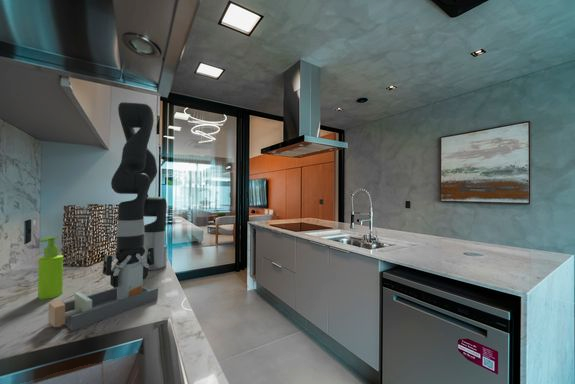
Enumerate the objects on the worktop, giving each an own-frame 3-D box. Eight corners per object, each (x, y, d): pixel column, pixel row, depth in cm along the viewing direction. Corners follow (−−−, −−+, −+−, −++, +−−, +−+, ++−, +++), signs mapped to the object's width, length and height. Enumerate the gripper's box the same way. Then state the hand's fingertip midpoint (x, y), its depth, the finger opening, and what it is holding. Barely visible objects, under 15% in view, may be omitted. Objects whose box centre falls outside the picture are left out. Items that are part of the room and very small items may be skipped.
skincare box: (127, 303, 74) (128, 265, 74) (116, 302, 75) (117, 264, 75) (143, 295, 80) (143, 260, 80) (132, 294, 81) (133, 259, 81)
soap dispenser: (30, 301, 76) (31, 239, 76) (47, 292, 83) (48, 235, 83) (51, 300, 77) (52, 238, 77) (66, 291, 84) (67, 235, 84)
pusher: (78, 308, 70) (79, 291, 70) (91, 318, 65) (92, 299, 65) (45, 319, 64) (46, 300, 64) (57, 330, 59) (57, 310, 59)
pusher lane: (139, 290, 85) (139, 280, 85) (157, 299, 79) (157, 288, 79) (56, 317, 67) (56, 304, 67) (72, 330, 60) (72, 316, 60)
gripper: (147, 229, 85) (146, 274, 85) (99, 235, 73) (98, 287, 73) (158, 231, 81) (157, 278, 81) (110, 238, 69) (109, 293, 69)
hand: (130, 282), depth 77 cm, fingers open, 8 cm apart
